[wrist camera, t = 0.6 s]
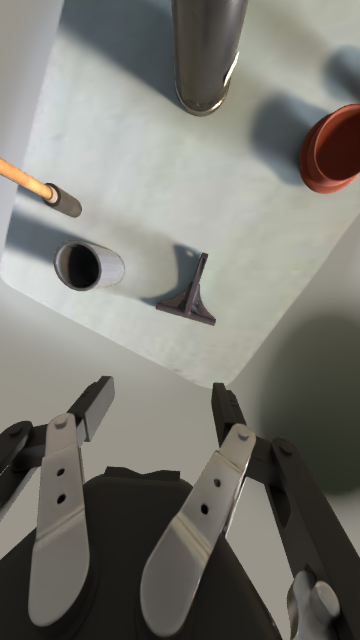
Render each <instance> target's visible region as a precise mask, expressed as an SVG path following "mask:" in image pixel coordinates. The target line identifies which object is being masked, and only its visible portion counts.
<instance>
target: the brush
mask: <svg viewBox="0 0 360 640" xmlns="http://www.w3.org/2000/svg"><path fill="white" fill-rule="evenodd" d="M0 175H2V176H4V177H6V178H8V179H10V180H12V181H14V182H16V183H17V184H19V185H21V186H23V187H25V188H27V189H29V190H31V191H33V192H35V193H36V194H38V195H40V196H41V197H42V199H43V201H44V202H45V203H46V204H47V205H48V206H50V207H52V208H54V209H56V210H58V211H60V212H62V213H64V214H67V215H69V216H71V217H74V218H75V217H78V216H79V215H80V214H81V211H82V207H81V204H80V202H79V201H78V200H77V199H75V198H74V197H72V196H71V195H69V194H68V193H66V192H65V191H63V190H62V189H60V188H59V187H57V186H56V185H54V184H52V183H46V184H42V183H41V182H39V181H37V180H36V179H34V178H33V177H31V176H29V175H28V174H26V173H24V172H23V171H21V170H20V169H18V168H16V167H15V166H13V165H11V164H10V163H8V162H6V161H5V160H3V159H2V158H0Z"/></svg>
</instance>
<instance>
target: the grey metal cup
mask: <svg viewBox="0 0 360 640" xmlns="http://www.w3.org/2000/svg"><path fill="white" fill-rule="evenodd" d="M54 268H55V271H56V273H57V275H58V277H59V279H60V280H61V281H62V282H63V283H64V284H65V285H66V286H68V287H69V288H71V289H74V290H77V291H88V290H94V289H99V288H104V287H109V286H113V285H116V284H118V283H119V282H120V281H121V280H122V279H123V277H124V274H125V265H124V262H123V260H122V258H121V257H120V256H119V255H118V254H117V253H116V252H114V251H112V250H109V249H106V248H102V247H99V246H96V245H92V244H89V243H85V242H82V241H79V240H69V241H67V242H64V243H62V244H61V245H60V246H59V247H58V248H57V250H56V252H55V254H54Z"/></svg>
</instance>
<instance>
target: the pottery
mask: <svg viewBox="0 0 360 640" xmlns="http://www.w3.org/2000/svg"><path fill="white" fill-rule="evenodd" d="M299 169H300V174H301V177H302V179H303V181H304V183H305V184H306V185H307V186H308V187H309V188H310V189H311V190H313V191H315V192H318V193H324V194H326V193H333V192H336V191H338V190H341V189H342V188H344V187H346V186H347V185H348V184H350V183H351V182H352V181H353V180H354V179H355V178H356V176H357V175H358V174H359V173H360V104H351V105H347V106H344V107H342V108H340V109H338V110H337V111H335V112H334V113H331V114H329V115H327V116H326V117H324V118H322V119H321V120H320V121H319V122H318V123H317V124H316V125H315V126H314V127H313V128H312V129H311V130H310V132H309V133H308V135H307V137H306V138H305V140H304V143H303V145H302V148H301V152H300V157H299Z"/></svg>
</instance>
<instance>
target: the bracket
mask: <svg viewBox="0 0 360 640" xmlns="http://www.w3.org/2000/svg"><path fill="white" fill-rule="evenodd" d="M207 258H208V254H206V253H203V252H202V255H201V257H200V261H199V264H198V267H197V270H196V274H195V277H194V280H193V282H191V283H190V285H189V286H188V288H187V289H186V290H185V291H184V292H183V293H182V294H181V295H179V296H177V297H175V298H173V299H170V300H166V301H160V303H157V305H156V309H158V310H161V311H165V312H168V313H171V314H175V315H178V316H182V317H185V318H189V319H192V320H195V321H199V322H202V323H206V324H209V325H213V326H214V325H215V322H216V319H214V317H213V316H212V315H211V314H210V313H209V312H208V311H207V310H206V308H205V307H204V305H203V303H202V301H201V297H200V284H199V281H200V278H201V275H202V272H203V269H204V267H205V264H206V261H207ZM184 294H185V295H184ZM198 298H199V299H198ZM181 303H186V306H185V309H184V310H182V309H179V308H177V307H178V305H179V304H181ZM192 305H194V306H195V307H196V308H197V314H196V313H192V312H190V309H191V306H192Z"/></svg>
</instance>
